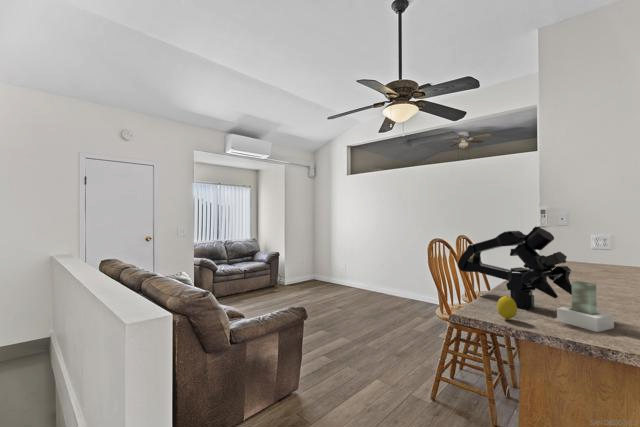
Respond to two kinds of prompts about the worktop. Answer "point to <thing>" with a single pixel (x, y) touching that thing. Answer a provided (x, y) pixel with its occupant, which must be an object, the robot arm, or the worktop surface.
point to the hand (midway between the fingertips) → (565, 296)
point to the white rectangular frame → (586, 319)
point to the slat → (584, 297)
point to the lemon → (507, 307)
